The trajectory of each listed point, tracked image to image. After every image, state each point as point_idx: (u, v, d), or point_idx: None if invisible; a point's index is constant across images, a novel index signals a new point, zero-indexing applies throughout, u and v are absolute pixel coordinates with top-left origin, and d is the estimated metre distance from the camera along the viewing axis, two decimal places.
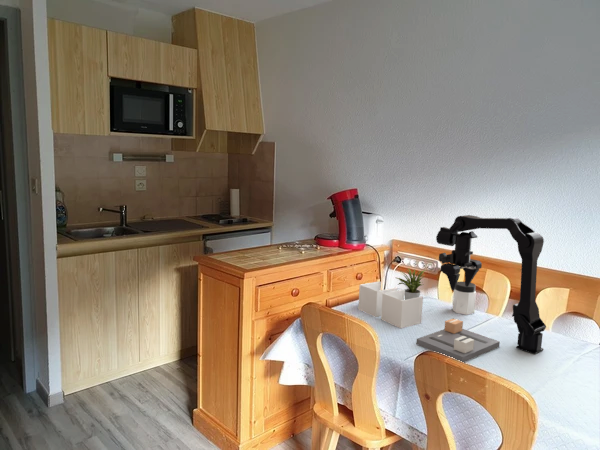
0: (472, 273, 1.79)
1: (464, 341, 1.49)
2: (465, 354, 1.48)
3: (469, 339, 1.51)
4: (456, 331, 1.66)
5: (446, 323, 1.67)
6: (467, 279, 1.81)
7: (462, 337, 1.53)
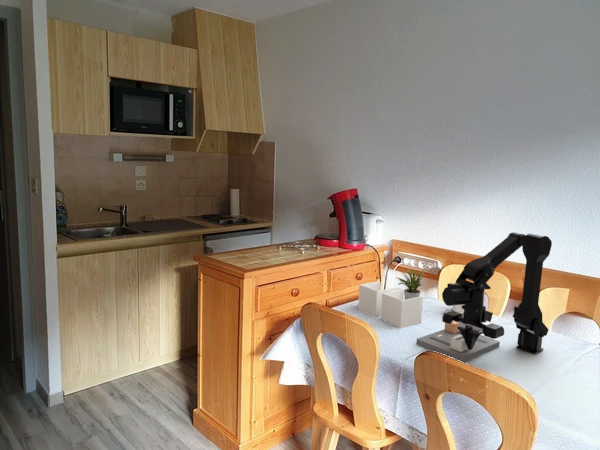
0: None
1: (460, 340, 1.50)
2: (465, 354, 1.48)
3: None
4: (456, 331, 1.66)
5: (446, 323, 1.67)
6: None
7: (458, 336, 1.54)
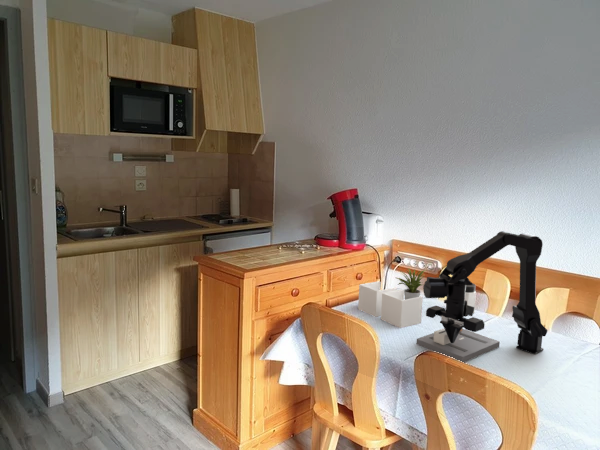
0: None
1: (443, 333, 1.55)
2: (465, 354, 1.48)
3: None
4: None
5: None
6: None
7: (442, 330, 1.59)
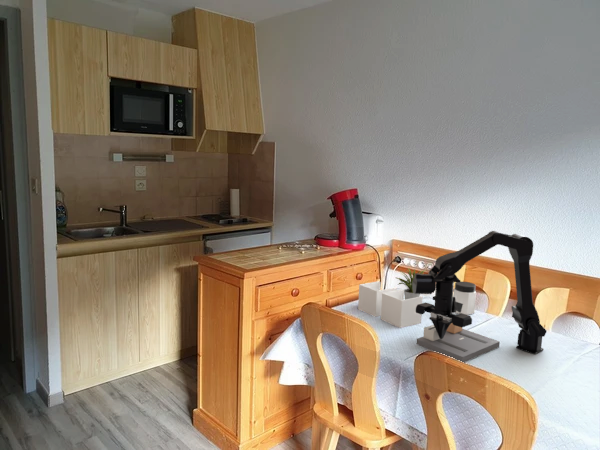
0: None
1: (433, 329, 1.59)
2: (465, 354, 1.48)
3: None
4: (456, 331, 1.66)
5: None
6: None
7: (431, 326, 1.62)
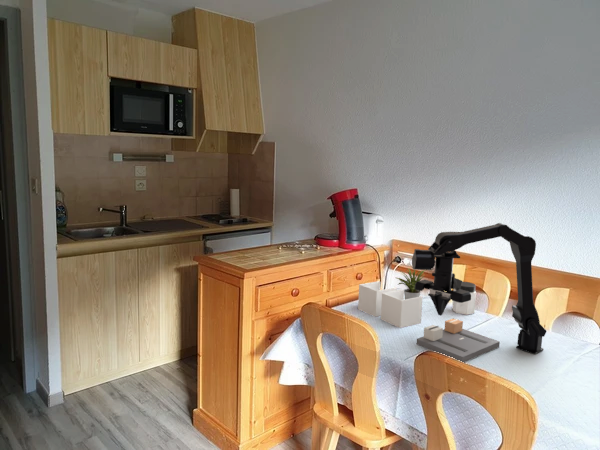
0: None
1: (433, 330, 1.59)
2: (465, 354, 1.48)
3: (438, 328, 1.60)
4: (456, 331, 1.66)
5: (446, 323, 1.67)
6: None
7: (431, 326, 1.62)
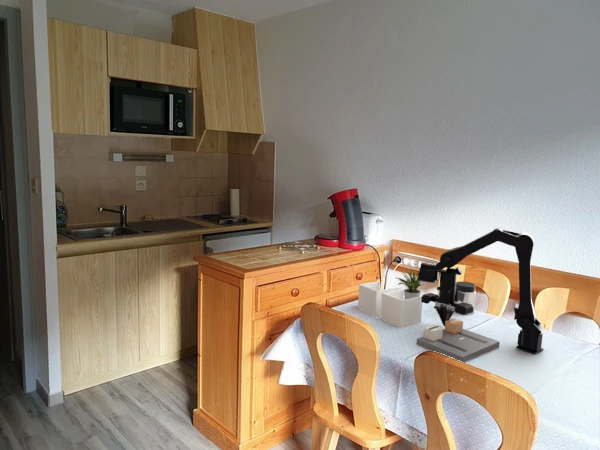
0: None
1: (433, 330, 1.59)
2: (465, 354, 1.48)
3: (438, 328, 1.60)
4: (456, 331, 1.66)
5: (446, 323, 1.67)
6: None
7: (431, 326, 1.62)
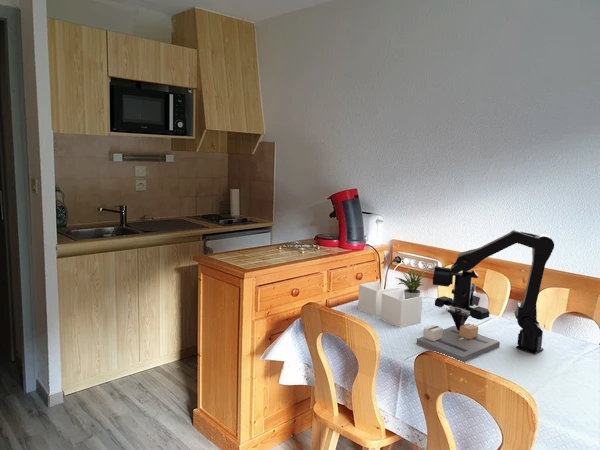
0: None
1: (433, 330, 1.59)
2: (465, 354, 1.48)
3: (438, 328, 1.60)
4: (471, 336, 1.61)
5: (461, 328, 1.63)
6: None
7: (431, 326, 1.62)
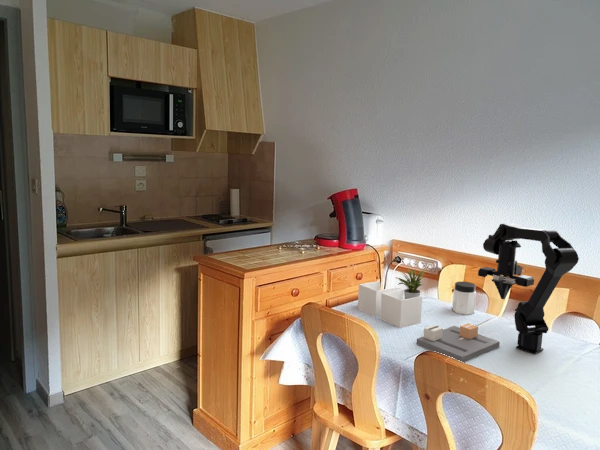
0: None
1: (433, 330, 1.59)
2: (465, 354, 1.48)
3: (438, 328, 1.60)
4: (471, 336, 1.61)
5: (461, 328, 1.63)
6: None
7: (431, 326, 1.62)
